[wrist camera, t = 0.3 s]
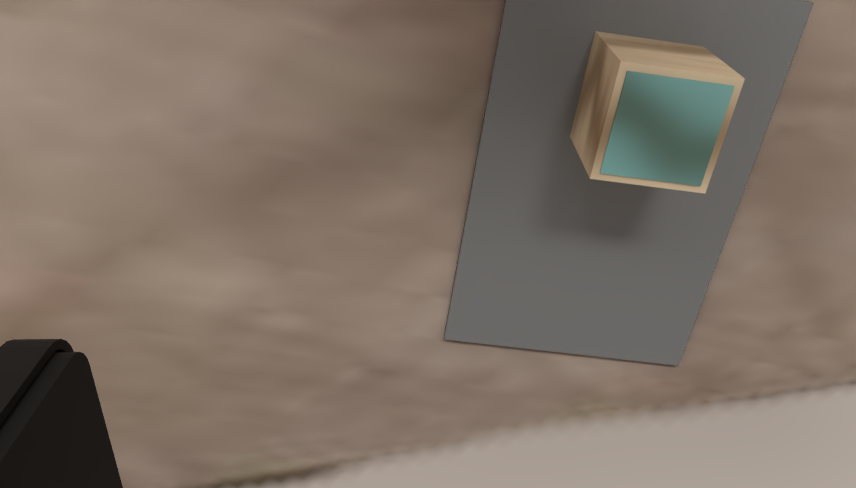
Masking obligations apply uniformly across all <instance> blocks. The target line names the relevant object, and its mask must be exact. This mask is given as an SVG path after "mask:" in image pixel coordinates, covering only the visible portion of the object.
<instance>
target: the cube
mask: <svg viewBox="0 0 856 488" xmlns="http://www.w3.org/2000/svg"><path fill="white" fill-rule="evenodd" d="M744 80H745V78H744V77H742V76H741V75H740V74H738V73H737V72H736V71H735V70H733V69H732V68H731V67H729V66H728V65H727V64H726V63H724V62H723V61H722V60H720V59H719V58H718V57H717V56H715V55H714V54H713V53H711V52H710V51H709V50H707V49H706V48H705V47H703V46H696V45H689V44H682V43H675V42H668V41H661V40H654V39H647V38H640V37H633V36H626V35H619V34H612V33H605V32H598V31H595V35H594V39H593V43H592V47H591V51H590V55H589V60H588V64H587V68H586V72H585V76H584V80H583V84H582V88H581V93H580V97H579V101H578V105H577V109H576V113H575V117H574V122H573V126H572V130H571V134H570V138H571V140H572V142H573V144H574V146H575V148H576V150H577V153H578V155H579V157H580V159H581V161H582V163H583V165H584V167H585V169H586V172H587V174H588V176H589V178H590V179H595V180H603V181H611V182H619V183H627V184H634V185H642V186H650V187H658V188H665V189H673V190H681V191H689V192H696V193H704V194H705V193H706V190H707V187H708V184H709V181H710V179H711V176H712V173H713V170H714V167H715V164H716V161H717V158H718V155H719V152H720V150H721V147H722V144H723V141H724V138H725V135H726V132H727V129H728V126H729V124H730V121H731V118H732V115H733V112H734V109H735V106H736V103H737V100H738V97H739V95H740V92H741V89H742V86H743V83H744Z"/></svg>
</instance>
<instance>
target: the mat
mask: <svg viewBox="0 0 856 488" xmlns="http://www.w3.org/2000/svg"><path fill="white" fill-rule="evenodd" d="M812 6H813V3H812V2H810V1H803V0H506V1H505V6H504V11H503V17H502V22H501V28H500V33H499V39H498V44H497V50H496V55H495V61H494V66H493V72H492V77H491V83H490V88H489V94H488V99H487V105H486V110H485V115H484V121H483V126H482V132H481V137H480V143H479V148H478V154H477V159H476V165H475V170H474V176H473V181H472V187H471V192H470V198H469V203H468V209H467V214H466V219H465V225H464V230H463V236H462V241H461V247H460V252H459V258H458V263H457V269H456V274H455V280H454V285H453V291H452V296H451V302H450V307H449V313H448V318H447V323H446V329H445V334H444V339H445V340H453V341H462V342H471V343H480V344H489V345H498V346H507V347H516V348H525V349H534V350H542V351H551V352H560V353H569V354H578V355H587V356H596V357H605V358H614V359H623V360H631V361H640V362H649V363H658V364H667V365H676V366H679V364H680V361H681V358H682V356H683V353H684V350H685V348H686V345H687V342H688V340H689V337H690V334H691V332H692V329H693V326H694V323H695V321H696V318H697V315H698V313H699V310H700V307H701V305H702V302H703V299H704V297H705V294H706V291H707V288H708V286H709V283H710V280H711V278H712V275H713V272H714V270H715V267H716V264H717V261H718V259H719V256H720V253H721V251H722V248H723V245H724V243H725V240H726V237H727V235H728V232H729V229H730V226H731V224H732V221H733V218H734V216H735V213H736V210H737V208H738V205H739V202H740V200H741V197H742V194H743V191H744V189H745V186H746V183H747V181H748V178H749V175H750V173H751V170H752V167H753V165H754V162H755V159H756V156H757V154H758V151H759V148H760V146H761V143H762V140H763V138H764V135H765V132H766V129H767V127H768V124H769V121H770V119H771V116H772V113H773V111H774V108H775V105H776V103H777V100H778V97H779V94H780V92H781V89H782V86H783V84H784V81H785V78H786V76H787V73H788V70H789V68H790V65H791V62H792V59H793V57H794V54H795V51H796V49H797V46H798V43H799V41H800V38H801V35H802V33H803V30H804V27H805V24H806V22H807V19H808V16H809V14H810V11H811V8H812ZM595 31H598V32H605V33H612V34H619V35H626V36H633V37H640V38H647V39H654V40H661V41H668V42H675V43H682V44H689V45H696V46H703V47H705V48H706V49H707V50H709V51H710V52H711V53H713V54H714V55H715V56H717V57H718V58H719V59H720V60H722V61H723V62H724V63H726V64H727V65H728V66H729V67H731V68H732V69H733V70H735V71H736V72H737V73H738V74H740V75H741V76H742V77H744V78H745V80H744V83H743V86H742V89H741V92H740V95H739V97H738V100H737V103H736V106H735V109H734V112H733V115H732V118H731V121H730V124H729V126H728V129H727V132H726V135H725V138H724V141H723V144H722V147H721V150H720V152H719V155H718V158H717V161H716V164H715V167H714V170H713V173H712V176H711V179H710V181H709V184H708V187H707V190H706V193H705V194H704V193H696V192H689V191H681V190H673V189H665V188H658V187H650V186H642V185H634V184H627V183H619V182H611V181H603V180H595V179H590V178H589V176H588V174H587V172H586V169H585V167H584V165H583V163H582V161H581V159H580V157H579V155H578V153H577V150H576V148H575V146H574V144H573V142H572V140H571V138H570V134H571V130H572V126H573V122H574V117H575V113H576V109H577V105H578V101H579V97H580V93H581V88H582V84H583V80H584V76H585V72H586V68H587V64H588V60H589V55H590V51H591V47H592V43H593V39H594V35H595Z"/></svg>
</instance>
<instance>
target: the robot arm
mask: <svg viewBox="0 0 856 488" xmlns="http://www.w3.org/2000/svg"><path fill="white" fill-rule="evenodd" d="M0 488H123V487H122V483H121V480H120V476H119V472H118V468H117V465H116V461H115V457H114V454H113V450H112V446H111V442H110V439H109V435H108V431H107V428H106V424H105V420H104V416H103V413H102V409H101V405H100V402H99V398H98V394H97V391H96V387H95V383H94V379H93V376H92V372H91V368H90V365H89V362H88V359H87V357H86V356H85V355H84V353H81V352H73V349H72V347H71V345H70V344H69V343H68V342H67V341H65V340H62V339H25V340H10V341H7V342H6V343H5V344H3V345H2V346H1V347H0Z"/></svg>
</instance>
